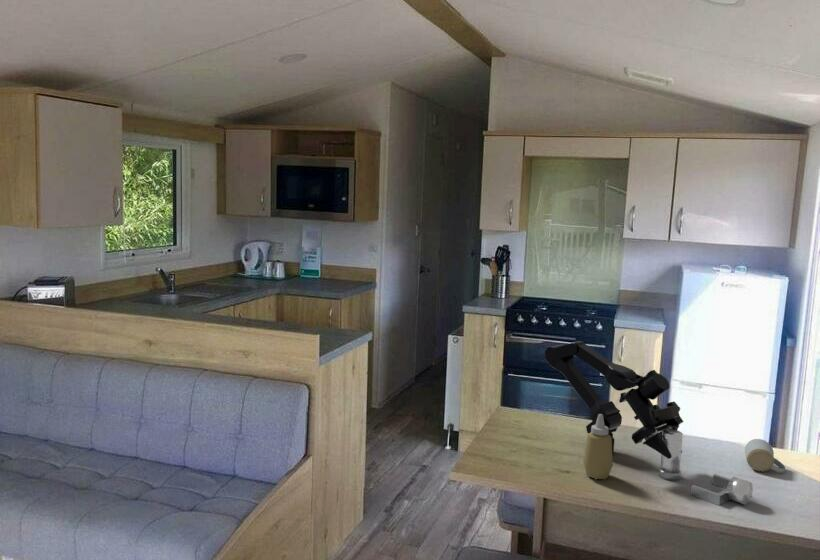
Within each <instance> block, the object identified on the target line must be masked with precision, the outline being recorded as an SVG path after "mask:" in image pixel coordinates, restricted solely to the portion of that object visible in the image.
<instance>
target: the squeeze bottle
mask: <svg viewBox="0 0 820 560" xmlns="http://www.w3.org/2000/svg"><path fill="white" fill-rule="evenodd" d="M608 431H609V428H608V427H607V426H605V425H604V418H603V415H602V414H599V415H598V418H597V422H596V425H592V427H591V432H590V433H587V437H586V441H585V449H584V455H583V462H582V463H583V467H584V470H585V474H586V476H587V475H588V476H589V477H588V476H587V477H588V478H590V477H592V478H596V479H595V480H597V479H603V480H607V479H608V477H609V475H610V473H611V471H612V468H613V466H614V465H613V461H614V460H613V455H612V438H611V436H610V435H609V434H608ZM592 478H591V479H592Z"/></svg>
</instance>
